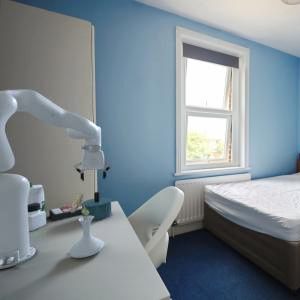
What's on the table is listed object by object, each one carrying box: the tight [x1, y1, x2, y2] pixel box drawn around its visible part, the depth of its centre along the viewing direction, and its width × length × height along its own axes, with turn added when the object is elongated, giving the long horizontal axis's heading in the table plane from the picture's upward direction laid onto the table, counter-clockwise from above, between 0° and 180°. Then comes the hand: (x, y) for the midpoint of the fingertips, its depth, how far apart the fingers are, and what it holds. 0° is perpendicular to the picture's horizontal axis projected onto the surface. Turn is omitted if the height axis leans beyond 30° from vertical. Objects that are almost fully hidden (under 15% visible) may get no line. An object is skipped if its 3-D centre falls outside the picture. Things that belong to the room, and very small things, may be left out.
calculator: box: [48, 205, 82, 222], centre depth 118 cm, size 11×4×15 cm
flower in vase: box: [68, 191, 105, 259], centre depth 79 cm, size 13×11×25 cm
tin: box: [81, 202, 112, 222], centre depth 115 cm, size 14×14×8 cm
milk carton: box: [28, 182, 46, 212], centre depth 111 cm, size 9×9×20 cm
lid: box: [81, 191, 113, 207], centre depth 115 cm, size 15×15×6 cm
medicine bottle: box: [27, 203, 47, 232], centre depth 102 cm, size 7×7×12 cm
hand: (93, 179), depth 113 cm, fingers open, 9 cm apart
